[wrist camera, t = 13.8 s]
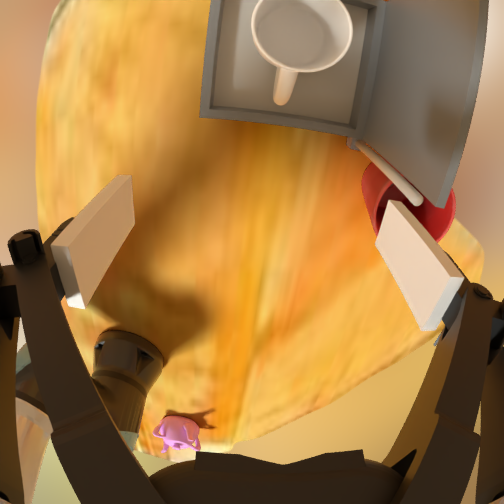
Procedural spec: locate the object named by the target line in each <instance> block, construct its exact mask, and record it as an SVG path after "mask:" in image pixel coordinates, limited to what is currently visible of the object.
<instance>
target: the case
mask: <svg viewBox="0 0 504 504" xmlns="http://www.w3.org/2000/svg"><path fill="white" fill-rule="evenodd" d="M340 1H341V2H342V3H343V4H344V6H345V7H346V9H347V10H348V12H349V14H350V17H351V20H352V24H353V37H352V42H351V45H350V47H349V49H348V51H347V52H346V54H345V55H344V56H343V58H342V59H341V60H340V61H338V62H337V63H336V64H334V65H332V66H331V67H329V68H326V69H324V70H320V71H316V72H298V75H297V78H296V82H295V85H294V88H293V91H292V94H291V96H290V98H289V100H288V102H287V103H286V104H284V105H277V104H276V103H275V102H274V100H273V91H274V82H275V76H276V71H277V67H276V66H274V65H272V64H270V63H269V62H267V61H266V60H265V59H264V58H263V57H262V56H261V55H260V54H259V52H258V51H257V49H256V47H255V44H254V41H253V35H252V28H251V19H252V14H253V11H254V8H255V6H256V5H257V3H258V2H259V0H211V5H210V12H209V21H208V29H207V38H206V47H205V57H204V67H203V78H202V90H201V102H200V116H199V118H214V119H226V120H238V121H248V122H257V123H266V124H274V125H281V126H288V127H295V128H302V129H308V130H314V131H320V132H326V133H331V134H337V135H342V136H347V137H348V138H347V143H346V145H347V146H348V147H349V148H350V149H353V150H358V151H362V152H363V153H364V154H365V155H366V156H367V157H368V158H369V159H370V160H371V161H372V162H373V163H374V164H375V165H376V166H377V167H378V168H379V169H380V170H381V171H382V172H383V173H384V174H385V175H386V176H387V177H388V178H389V179H390V180H391V181H392V182H393V183H394V184H395V185H396V186H397V187H398V189H399V190H400V191H401V192H402V193H403V194H404V195H405V196H406V197H407V198H408V199H409V200H410V202H411V203H412V204H413V205H414V206H419V205H421V204H422V202H423V196H422V195H421V194H420V193H419V192H418V191H417V190H416V189H415V188H414V187H413V186H412V185H411V184H410V183H409V182H408V181H407V180H406V179H405V178H403V177H402V176H401V175H400V174H399V173H398V172H397V171H396V170H395V169H394V168H393V167H392V166H394V167H395V168H396V169H397V170H398V171H399V172H400V173H401V174H402V175H403V176H404V177H406V178H407V179H408V180H409V181H410V182H411V183H412V184H413V185H414V186H415V187H416V188H417V189H418V190H419V191H420V192H421V193H422V194H423V195H424V196H425V197H426V198H427V199H428V200H429V201H430V202H431V203H432V204H433V205H434V206H435V207H439V208H443V209H444V208H445V205H446V202H447V200H448V197H449V194H450V191H451V188H452V185H453V182H454V179H455V176H456V173H457V169H458V167H459V164H460V160H461V157H462V154H463V150H464V147H465V143H466V139H467V136H468V131H469V128H470V124H471V119H472V116H473V111H474V107H475V102H476V98H477V93H478V87H479V82H480V76H481V70H482V64H483V57H484V50H485V42H486V32H487V20H488V4H489V0H389V1H384V0H340ZM366 143H367V144H368V145H369V146H371V147H372V148H373V149H374V150H375V151H376V152H378V153H379V154H380V155H381V156H382V157H383V158H385V159H386V160H387V161H388V162H389V163H390V164H391V165H392V166H391V165H389V164H388V163H387V162H386V161H385V160H384V159H383V158H382V157H380V156H379V155H378V154H377V153H376V152H375V151H374V150H372V149H371V148H370V147H369V146H368V145H367V144H366Z"/></svg>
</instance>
